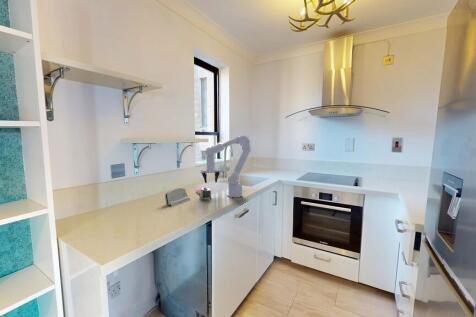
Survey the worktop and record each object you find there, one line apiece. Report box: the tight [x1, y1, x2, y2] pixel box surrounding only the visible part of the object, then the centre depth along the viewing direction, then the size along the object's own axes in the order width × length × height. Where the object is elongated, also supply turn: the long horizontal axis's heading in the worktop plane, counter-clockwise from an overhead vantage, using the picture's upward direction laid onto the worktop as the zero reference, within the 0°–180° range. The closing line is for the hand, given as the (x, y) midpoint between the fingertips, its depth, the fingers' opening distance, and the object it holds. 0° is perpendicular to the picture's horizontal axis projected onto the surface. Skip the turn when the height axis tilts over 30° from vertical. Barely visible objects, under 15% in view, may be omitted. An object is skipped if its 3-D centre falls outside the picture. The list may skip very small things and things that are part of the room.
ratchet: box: [195, 189, 212, 201], centre depth 153 cm, size 8×25×5 cm, turn 24°
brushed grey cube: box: [200, 186, 212, 198], centre depth 145 cm, size 6×6×5 cm
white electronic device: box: [164, 187, 191, 207], centre depth 138 cm, size 17×5×10 cm, turn 150°
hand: (210, 182), depth 154 cm, fingers open, 7 cm apart
